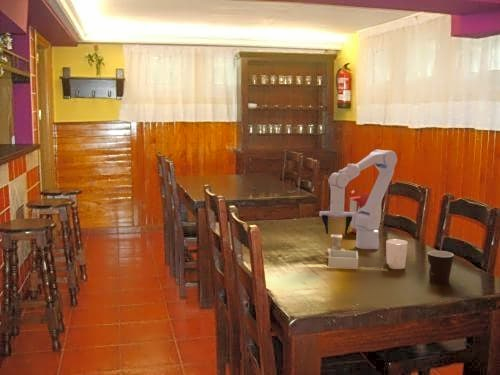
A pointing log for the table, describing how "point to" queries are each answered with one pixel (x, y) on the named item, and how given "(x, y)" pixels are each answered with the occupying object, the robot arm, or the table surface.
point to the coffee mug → (439, 266)
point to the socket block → (336, 242)
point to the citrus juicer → (359, 203)
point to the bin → (343, 259)
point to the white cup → (396, 253)
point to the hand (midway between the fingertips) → (336, 233)
